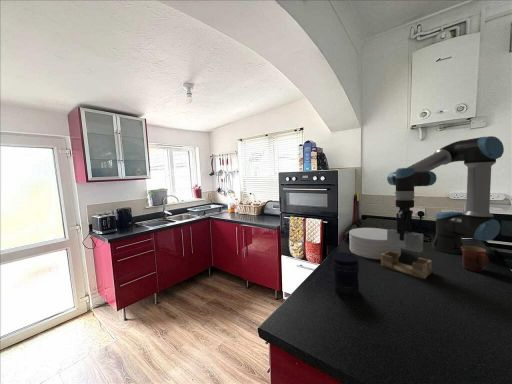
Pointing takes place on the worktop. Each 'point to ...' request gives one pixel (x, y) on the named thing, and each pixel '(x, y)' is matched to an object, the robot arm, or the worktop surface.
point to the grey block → (412, 240)
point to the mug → (474, 258)
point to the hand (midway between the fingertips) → (404, 245)
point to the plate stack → (370, 242)
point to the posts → (417, 269)
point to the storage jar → (346, 274)
